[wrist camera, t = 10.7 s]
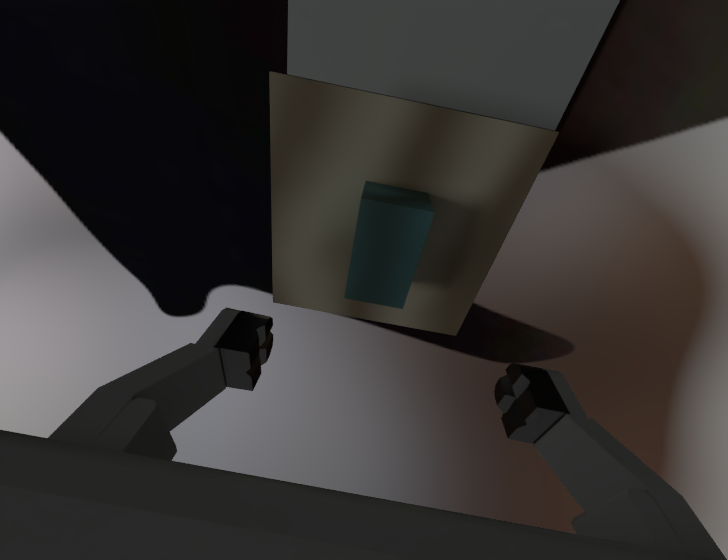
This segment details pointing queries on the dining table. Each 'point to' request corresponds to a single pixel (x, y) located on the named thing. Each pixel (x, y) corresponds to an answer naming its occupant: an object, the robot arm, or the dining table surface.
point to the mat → (452, 51)
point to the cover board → (398, 156)
